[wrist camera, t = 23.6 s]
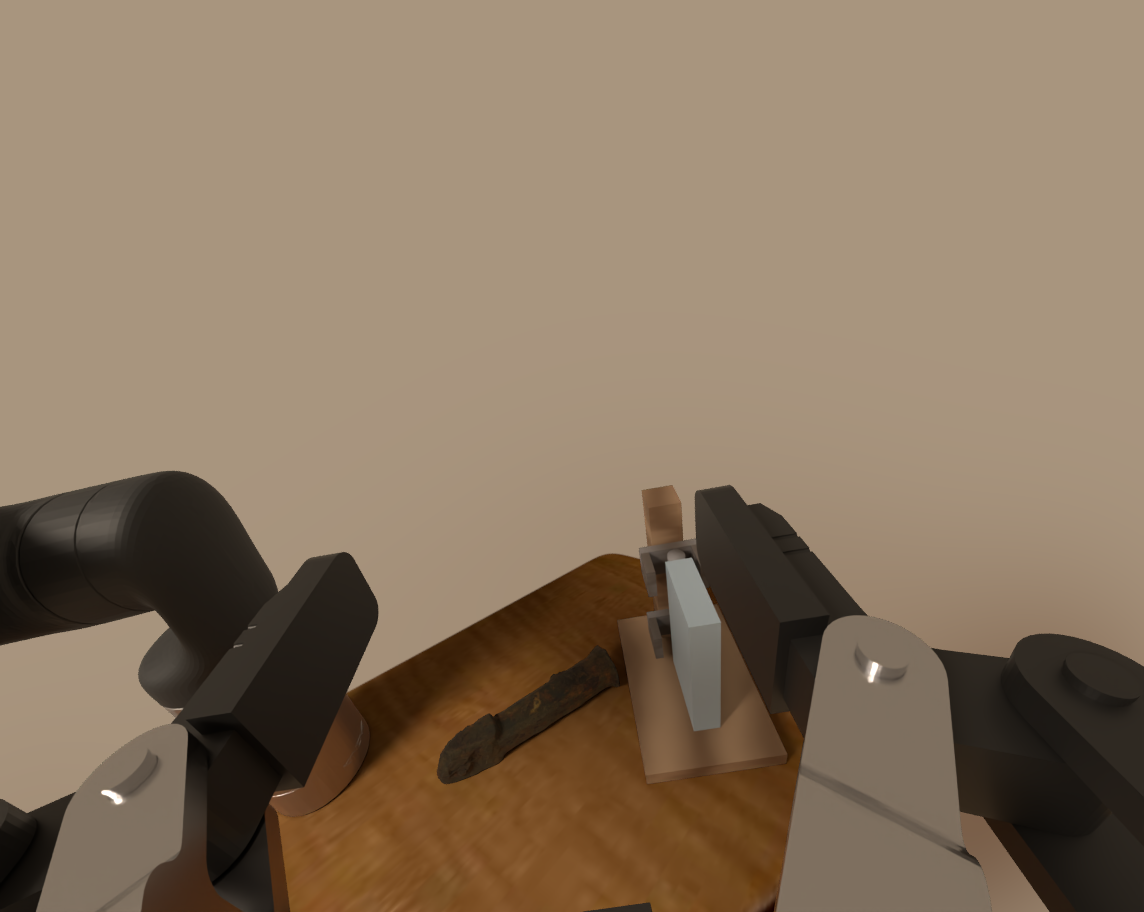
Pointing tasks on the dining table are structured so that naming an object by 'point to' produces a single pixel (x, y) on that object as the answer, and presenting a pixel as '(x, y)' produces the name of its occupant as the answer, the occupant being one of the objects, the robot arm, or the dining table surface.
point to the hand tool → (525, 717)
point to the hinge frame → (656, 683)
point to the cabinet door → (694, 641)
